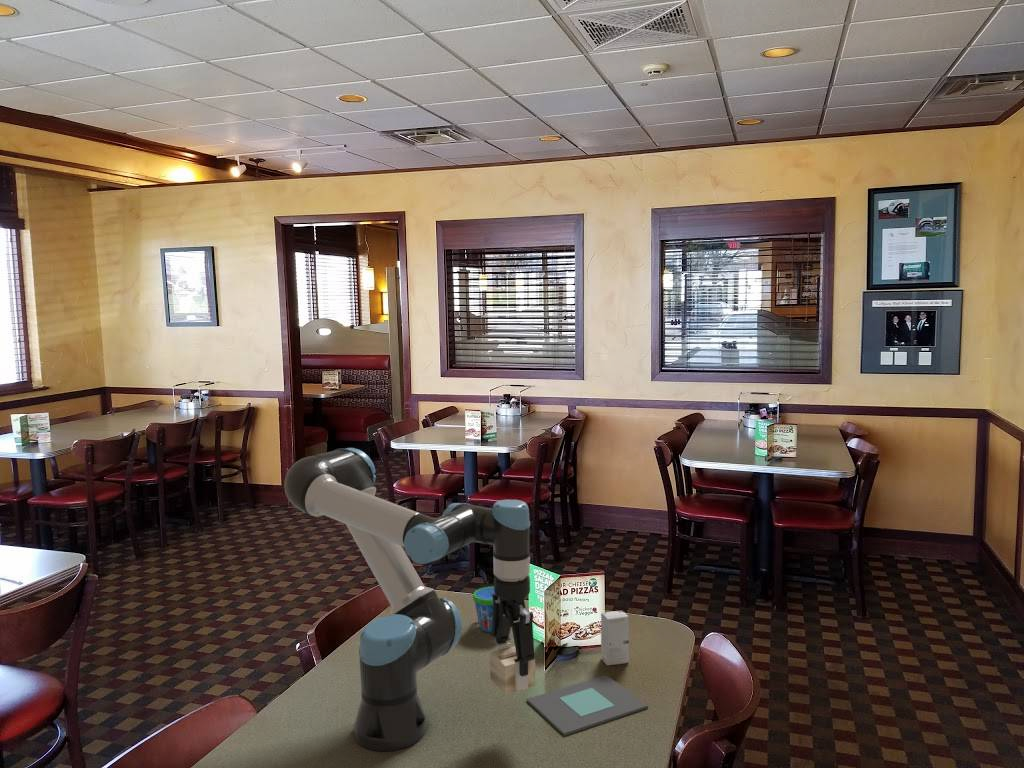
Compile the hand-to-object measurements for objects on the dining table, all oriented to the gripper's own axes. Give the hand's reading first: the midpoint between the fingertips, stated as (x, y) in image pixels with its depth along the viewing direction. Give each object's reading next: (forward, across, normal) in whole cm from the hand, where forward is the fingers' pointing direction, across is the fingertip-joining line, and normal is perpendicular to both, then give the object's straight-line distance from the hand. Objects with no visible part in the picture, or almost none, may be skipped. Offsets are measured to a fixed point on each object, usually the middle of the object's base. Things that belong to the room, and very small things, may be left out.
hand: (512, 680), depth 158 cm
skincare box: (+11, +15, -37) cm, 42 cm away
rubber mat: (+11, +1, -19) cm, 22 cm away
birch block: (0, 0, 0) cm, 0 cm away
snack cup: (+12, +48, -19) cm, 53 cm away
